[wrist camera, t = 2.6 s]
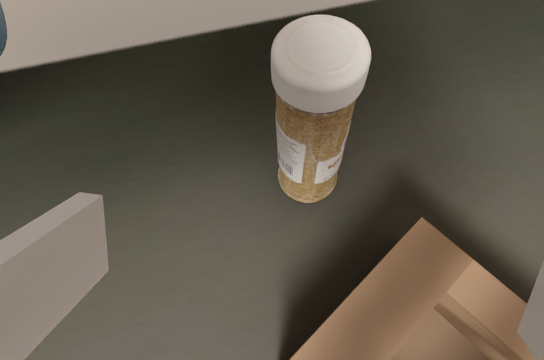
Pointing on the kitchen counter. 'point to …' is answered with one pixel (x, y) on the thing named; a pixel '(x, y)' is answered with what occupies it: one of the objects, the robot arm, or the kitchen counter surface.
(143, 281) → the kitchen counter surface
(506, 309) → the brown wooden square frame
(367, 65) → the sprinkles bottle
